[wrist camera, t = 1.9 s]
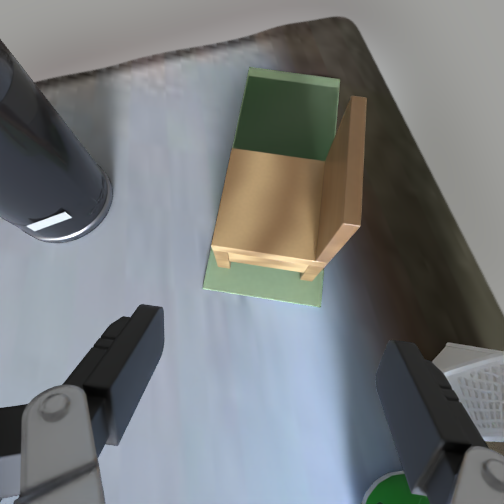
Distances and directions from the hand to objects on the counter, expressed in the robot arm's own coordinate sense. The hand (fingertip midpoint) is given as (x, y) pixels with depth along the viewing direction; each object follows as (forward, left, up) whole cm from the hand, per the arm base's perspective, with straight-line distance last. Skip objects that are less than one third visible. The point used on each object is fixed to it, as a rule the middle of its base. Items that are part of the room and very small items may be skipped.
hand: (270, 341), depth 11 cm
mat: (0, +18, -17) cm, 25 cm away
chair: (0, +11, -17) cm, 20 cm away
